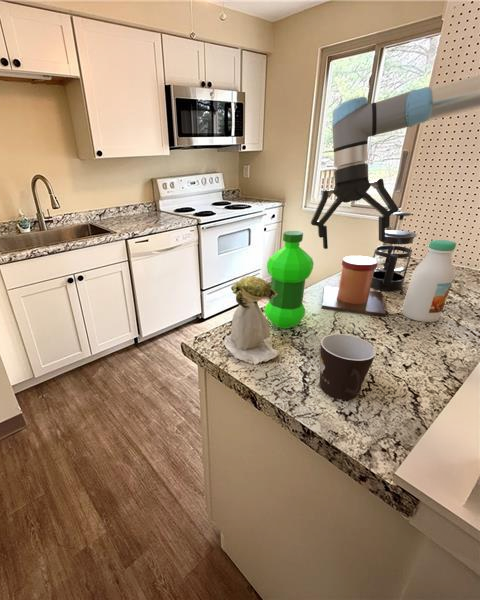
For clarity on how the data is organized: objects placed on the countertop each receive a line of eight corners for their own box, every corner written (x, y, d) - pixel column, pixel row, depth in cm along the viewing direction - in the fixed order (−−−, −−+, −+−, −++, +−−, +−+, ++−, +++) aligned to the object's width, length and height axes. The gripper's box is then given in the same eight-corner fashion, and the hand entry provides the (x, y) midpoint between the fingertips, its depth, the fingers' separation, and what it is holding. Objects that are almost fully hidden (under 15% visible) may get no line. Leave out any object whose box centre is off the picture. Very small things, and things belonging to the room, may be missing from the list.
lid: (375, 262, 88) (376, 256, 88) (377, 272, 82) (379, 266, 81) (342, 260, 92) (343, 254, 92) (341, 269, 86) (342, 263, 85)
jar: (366, 294, 93) (375, 258, 88) (368, 305, 87) (377, 267, 82) (337, 291, 96) (343, 256, 91) (336, 301, 91) (343, 264, 86)
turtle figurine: (228, 364, 71) (230, 292, 63) (221, 334, 82) (222, 270, 74) (282, 364, 69) (291, 289, 61) (267, 333, 81) (273, 267, 73)
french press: (366, 277, 106) (382, 209, 96) (401, 281, 101) (421, 209, 91) (366, 290, 97) (382, 216, 87) (404, 295, 92) (426, 217, 82)
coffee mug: (319, 369, 66) (326, 329, 62) (367, 384, 61) (379, 342, 57) (303, 401, 59) (310, 358, 54) (357, 422, 53) (369, 376, 49)
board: (380, 294, 94) (381, 291, 94) (385, 317, 83) (386, 313, 82) (324, 288, 101) (324, 286, 101) (321, 308, 90) (321, 305, 89)
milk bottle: (412, 323, 79) (436, 247, 70) (394, 309, 86) (414, 238, 77) (446, 322, 77) (475, 245, 69) (426, 308, 84) (449, 236, 76)
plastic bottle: (276, 311, 91) (285, 226, 80) (312, 323, 83) (326, 231, 72) (255, 323, 86) (261, 234, 75) (290, 337, 78) (302, 240, 67)
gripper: (403, 154, 81) (402, 235, 86) (297, 177, 91) (302, 248, 96) (415, 151, 74) (413, 239, 80) (300, 176, 84) (305, 253, 89)
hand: (352, 244), depth 88 cm, fingers open, 13 cm apart
